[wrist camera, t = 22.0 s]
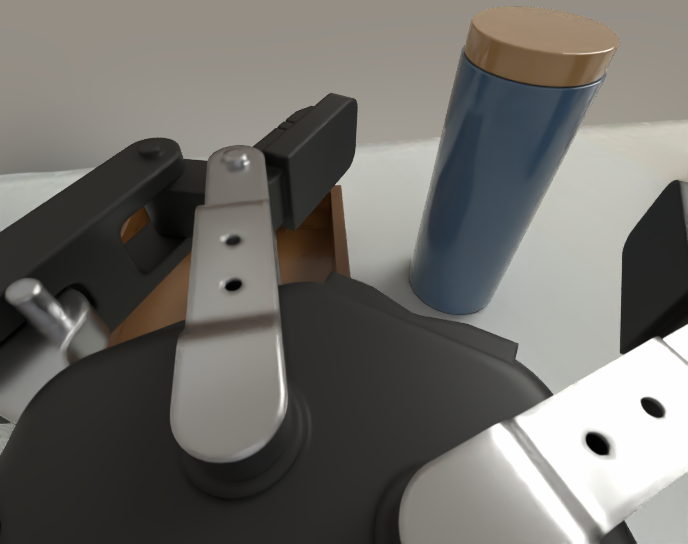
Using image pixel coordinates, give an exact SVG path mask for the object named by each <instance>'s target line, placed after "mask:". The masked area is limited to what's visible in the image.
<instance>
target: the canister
mask: <svg viewBox="0 0 688 544" xmlns="http://www.w3.org/2000/svg"><path fill="white" fill-rule="evenodd" d="M619 43H620V39H619V37H618V35H617V34H616V33H615V32H614V31H613V30H611V29H610V28H608V27H607V26H605V25H603V24H601V23H599V22H596V21H594V20H591V19H589V18H586V17H582V16H579V15H575V14H571V13H568V12H562V11H558V10H552V9H545V8H537V7H536V8H535V7H521V6H519V7H518V6H511V7H510V6H509V7H497V8H491V9H487V10H483V11H480V12H478V13H476V14H475V15H474V16H473V18H472V19H471V23H470V27H469V31H468V35H467V39H466V44H465V45H464V47H463V48H462V51H461V55H460V59H459V64H458V68H457V72H456V76H455V80H454V84H453V89H452V93H451V97H450V101H449V106H448V110H447V114H446V118H445V123H444V127H443V131H442V135H441V139H440V144H439V148H438V152H437V156H436V161H435V165H434V169H433V173H432V178H431V182H430V186H429V190H428V194H427V199H426V203H425V207H424V211H423V216H422V220H421V224H420V228H419V233H418V237H417V241H416V245H415V250H414V254H413V258H412V262H411V266H410V271H409V280H410V284H411V287H412V289H413V291H414V292H415V293H416V295H417V296H418V297H419V298H420V299H421V300H422V301H423V302H425V303H426V304H427V305H429V306H431V307H432V308H434V309H436V310H439V311H442V312H445V313H449V314H459V315H463V314H470V313H474V312H477V311H479V310H481V309H483V308H484V307H485V306H487V305H488V303H489V302H490V301H491V299H492V297H493V295H494V293H495V291H496V290H497V288H498V286H499V284H500V282H501V280H502V278H503V276H504V274H505V272H506V270H507V268H508V266H509V264H510V262H511V260H512V258H513V256H514V255H515V253H516V251H517V249H518V247H519V245H520V243H521V241H522V239H523V237H524V235H525V233H526V231H527V229H528V227H529V225H530V223H531V222H532V220H533V218H534V216H535V214H536V212H537V210H538V208H539V206H540V204H541V202H542V200H543V198H544V196H545V194H546V192H547V190H548V188H549V187H550V185H551V183H552V181H553V179H554V177H555V175H556V173H557V171H558V169H559V167H560V165H561V163H562V161H563V159H564V157H565V155H566V153H567V152H568V150H569V148H570V146H571V144H572V142H573V140H574V138H575V136H576V134H577V132H578V130H579V128H580V126H581V124H582V122H583V120H584V119H585V117H586V114H587V112H588V111H589V109H590V107H591V105H592V103H593V101H594V99H595V97H596V95H597V93H598V91H599V89H600V87H601V85H602V83H603V82H604V80H605V77H606V69H607V68H608V66H609V64H610V62H611V60H612V58H613V56H614V54H615V52H616V50H617V48H618V46H619Z"/></svg>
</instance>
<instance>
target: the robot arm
mask: <svg viewBox="0 0 688 544" xmlns="http://www.w3.org/2000/svg"><path fill="white" fill-rule="evenodd" d="M357 108H358V107H357V101H356V99H354V98H350V97H346V96H342V95H338V94H333V93H330V94H328V95H327V96H326V97H325V98H323V99H322V100H321V101H320V102H319V103H317V104H316V105H315V106H310V107H307V108H304V109H301V110H299V111H296V112H295V113H294V114H293V115H291V116H290V117H289V118H287V119H286V122H283V123H281V124H280V125H279V126H278V128H275V129H274V130H273V131H272V132H270V133H269V134H268V135H267V136H266V137H264V138H263V139H262V140H260V141H259V142H258V143H257V144H255V145H254V146H253V147H250V146H244V145H236V146H229V147H225V148H222V149H220V150H218V151H216V152H214V153H213V154H212V155H211V156H210V157H209V159H208V161H203V160H191V159H183V156H182V153H181V150H180V147H179V145H178V143H176V142H175V141H173V140H171V139H167V138H149V139H144V140H141V141H138V142H135V143H133V144H131V145H130V146H128V147H127V148H125V149H124V150H122V151H121V152H119V153H118V154H116V155H115V156H113V157H112V158H110V159H109V160H107V161H106V162H104V163H103V164H101V165H100V166H98V167H97V168H95V169H94V170H92V171H91V172H89V173H88V174H86V175H85V176H83V177H82V178H80V179H79V180H77V181H76V182H74V183H73V184H71V185H70V186H68V187H67V188H65V189H64V190H63V191H61V192H60V193H58V194H57V195H55V196H54V197H52V198H51V199H49V200H48V201H46V202H45V203H43V204H42V205H40V206H39V207H37V208H36V209H34V210H33V211H31V212H30V213H28V214H27V215H25V216H24V217H22V218H21V219H19V220H18V221H16V222H15V223H13V224H12V225H10V226H9V227H7V228H6V229H4V230H3V231H1V232H0V424H6V423H14V424H16V426H15V428H14V430H13V432H12V434H11V436H10V438H9V440H8V442H7V444H6V446H5V448H4V450H3V452H2V453H1V455H0V544H637V543H636V541H635V539H634V537H633V535H632V533H631V532H630V530H629V528H628V526H627V524H626V522H625V521H624V519H626V518H627V517H628V516H630V515H631V514H632V513H633V512H635V511H636V510H637V509H639V508H640V507H641V506H643V505H644V504H645V503H646V502H648V501H649V500H650V499H652V498H653V497H654V496H656V495H657V494H658V493H659V492H661V491H662V490H663V489H665V488H666V487H667V486H669V485H670V484H671V483H672V482H674V481H675V480H676V479H678V478H679V477H680V476H682V475H683V474H684V473H685V472H687V471H688V183H687V182H683V181H679V180H674V181H672V182H671V183H670V184H669V185H668V186H667V187H666V188H665V189H664V190H663V191H662V193H661V194H660V195H659V197H658V198H657V199H656V200H655V202H654V203H653V204H652V206H651V207H650V208H649V209H648V211H647V212H646V213H645V214H644V216H643V217H642V218H641V220H640V221H639V222H638V223H637V225H636V226H635V227H634V229H633V230H632V231H631V233H630V234H629V236H628V238H627V240H626V242H625V245H624V248H623V252H622V287H621V330H620V353H621V354H623V356H621V357H619V358H618V359H616V360H614V361H612V362H611V363H609V364H607V365H605V366H604V367H602V368H600V369H599V370H597V371H595V372H593V373H592V374H590V375H588V376H586V377H585V378H583V379H581V380H579V381H578V382H576V383H574V384H572V385H571V386H569V387H567V388H565V389H564V390H562V391H560V392H558V393H557V394H555V395H553V393H552V392H551V391H550V390H549V389H548V387H547V386H546V385H545V384H544V383H543V382H542V381H541V380H540V379H539V378H538V377H537V376H536V375H535V374H534V373H533V372H531V371H530V370H529V369H528V368H526V367H525V366H524V365H523V364H521V363H520V362H518V361H517V360H515V358H516V353H517V349H518V343H515V342H513V341H510V340H508V339H505V338H502V337H500V336H497V335H495V334H492V333H490V332H487V331H485V330H482V329H479V328H477V327H474V326H472V325H469V324H465V323H460V322H454V321H448V320H443V319H437V318H431V317H425V316H420V315H416V314H413V313H411V312H410V311H408V310H407V309H405V308H404V307H402V306H401V305H399V304H398V303H396V302H395V301H393V300H392V299H390V298H389V297H387V296H386V295H384V294H383V293H381V292H380V291H378V290H377V289H375V288H374V287H372V286H369V285H367V284H364V283H362V282H359V281H357V280H354V279H352V278H349V277H346V276H344V275H341V274H339V273H336V272H334V271H331V273H330V274H329V275H328V277H327V278H326V280H325V281H324V283H322V282H310V281H305V282H293V283H286V284H282V285H281V276H280V267H279V259H278V250H277V241H276V234H275V231H276V230H277V229H278V228H279V227H280V226H282V227H284V228H287V229H290V230H292V231H296V230H297V228H298V227H299V226H300V225H301V224H302V223H303V221H304V220H305V219H306V218H307V217H308V216H309V214H310V213H311V212H312V211H313V210H314V209H315V207H316V206H317V205H318V204H319V203H320V202H321V200H322V199H323V198H324V197H325V196H326V195H327V193H328V192H329V191H330V190H331V189H332V188H333V186H334V185H335V184H336V183H337V182H338V181H339V179H340V178H341V177H342V176H343V175H344V174H345V172H346V171H347V170H348V169H349V167H350V166H351V164H352V161H353V158H354V154H355V147H356V128H357ZM144 206H145V209H146V211H147V213H148V215H149V217H150V220H151V221H150V222H149V223H148V224H147V225H145V226H144V227H143V228H142V229H141V230H140V231H138V232H137V233H136V234H135V235H134V236H133V237H132V238H130V239H129V240H128V241H127V242H126V243H125V244H123V242H122V240H121V229H122V227H123V225H124V223H125V222H126V221H127V220H128V219H129V218H130V217H132V216H133V215H134V214H135V213H136V212H138V211H139V210H140V209H141V208H142V207H144ZM191 251H192V255H191V267H190V278H189V290H188V301H187V313H186V319H185V320H182V321H179V322H177V323H174V324H171V325H168V326H166V327H163V328H160V329H158V330H155V331H152V332H149V333H147V334H144V335H141V336H138V337H136V338H133V339H130V340H128V341H125V342H122V343H119V344H117V345H114V346H111V347H109V348H106V347H107V345H108V342H109V339H110V335H111V334H112V333H113V332H114V330H115V329H116V328H117V327H118V326H119V325H120V324H121V323H122V322H123V321H124V320H125V319H126V318H127V317H128V316H129V315H130V314H131V313H132V312H133V311H134V310H135V309H136V308H137V307H138V306H139V305H140V303H141V302H142V301H143V300H144V299H145V298H146V297H147V296H148V295H149V294H150V293H151V292H152V291H153V290H154V289H155V288H156V287H157V286H158V285H159V284H160V283H161V282H162V281H163V280H164V279H165V278H166V276H167V275H168V274H169V273H170V272H171V271H172V270H173V269H174V268H175V267H176V266H177V265H178V264H179V263H180V262H181V261H182V260H183V259H184V258H185V257H186V256H187V255H188V254H189V253H190V252H191Z"/></svg>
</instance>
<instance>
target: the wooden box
mask: <svg viewBox="0 0 688 544" xmlns="http://www.w3.org/2000/svg"><path fill="white" fill-rule="evenodd" d="M150 221H151V220H150V217H149V215H148V213H147V211H146V209H145V206H144V207H142V208H141V209H140V210H139V211H138V212H136V213H135V214H134V215H133V216H132V217H130V218H129V219H128V220H127V221H126V222H125V223H124V225H123V227H122V229H121V240H122V242H123V244H125V243H126V242H127V241H128V240H129V239H130V238H132V237H133V236H134V235H135V234H136V233H137V232H138V231H140V230H141V229H142V228H143V227H144V226H145V225H147V224H148V223H149V222H150ZM275 234H276V241H277V250H278V259H279V267H280V276H281V285H282V284H286V283H293V282H305V281H310V282H322V283H324V281H325V280H326V278H327V277H328V275H329V274H330V273H331V271H334V272H336V273H339V274H341V275H344V276H346V277H349V278H350V269H349V259H348V249H347V239H346V229H345V219H344V210H343V200H342V190H341V185H334V186H333V188H332V189H331V190H330V191H329V192H328V193H327V195H326V196H325V197H324V198H323V199H322V200H321V202H320V203H319V204H318V205H317V206H316V207H315V209H314V210H313V211H312V212H311V213H310V214H309V216H308V217H307V218H306V219H305V220H304V221H303V223H302V224H301V225H300V226H299V227H298V228H297V230H296V231H292V230H290V229H287V228H284V227H282V226H280V227H279V228H278V229H277V230H276V231H275ZM191 255H192V251H191V252H190V253H189V254H188V255H187V256H186V257H185V258H184V259H183V260H182V261H181V262H180V263H179V264H178V265H177V266H176V267H175V268H174V269H173V270H172V271H171V272H170V273H169V274H168V275H167V276H166V278H165V279H164V280H163V281H162V282H161V283H160V284H159V285H158V286H157V287H156V288H155V289H154V290H153V291H152V292H151V293H150V294H149V295H148V296H147V297H146V298H145V299H144V300H143V301H142V302H141V303H140V305H139V306H138V307H137V308H136V309H135V310H134V311H133V312H132V313H131V314H130V315H129V316H128V317H127V318H126V319H125V320H124V321H123V322H122V323H121V324H120V325H119V326H118V327H117V328H116V329H115V330H114V332H113V333H112V334H111V335H110V339H109V342H108V345H107V347H106V348H109V347H111V346H114V345H117V344H119V343H122V342H125V341H128V340H130V339H133V338H136V337H138V336H141V335H144V334H147V333H149V332H152V331H155V330H158V329H160V328H163V327H166V326H168V325H171V324H174V323H177V322H179V321H182V320H185V319H186V313H187V301H188V290H189V278H190V267H191Z"/></svg>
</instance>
